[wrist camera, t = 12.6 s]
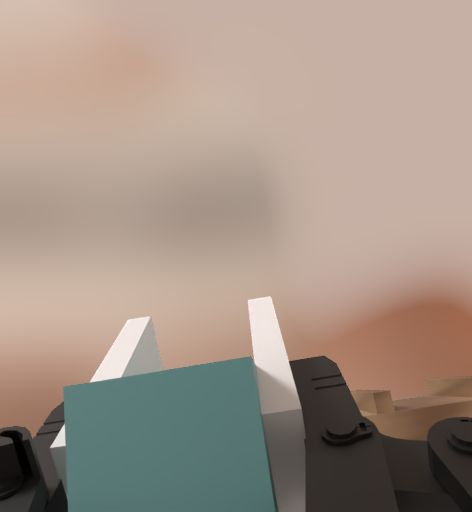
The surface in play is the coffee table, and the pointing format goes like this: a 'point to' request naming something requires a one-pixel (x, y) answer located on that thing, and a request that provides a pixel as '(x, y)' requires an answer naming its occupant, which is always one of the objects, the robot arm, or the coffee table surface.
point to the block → (169, 442)
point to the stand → (416, 407)
